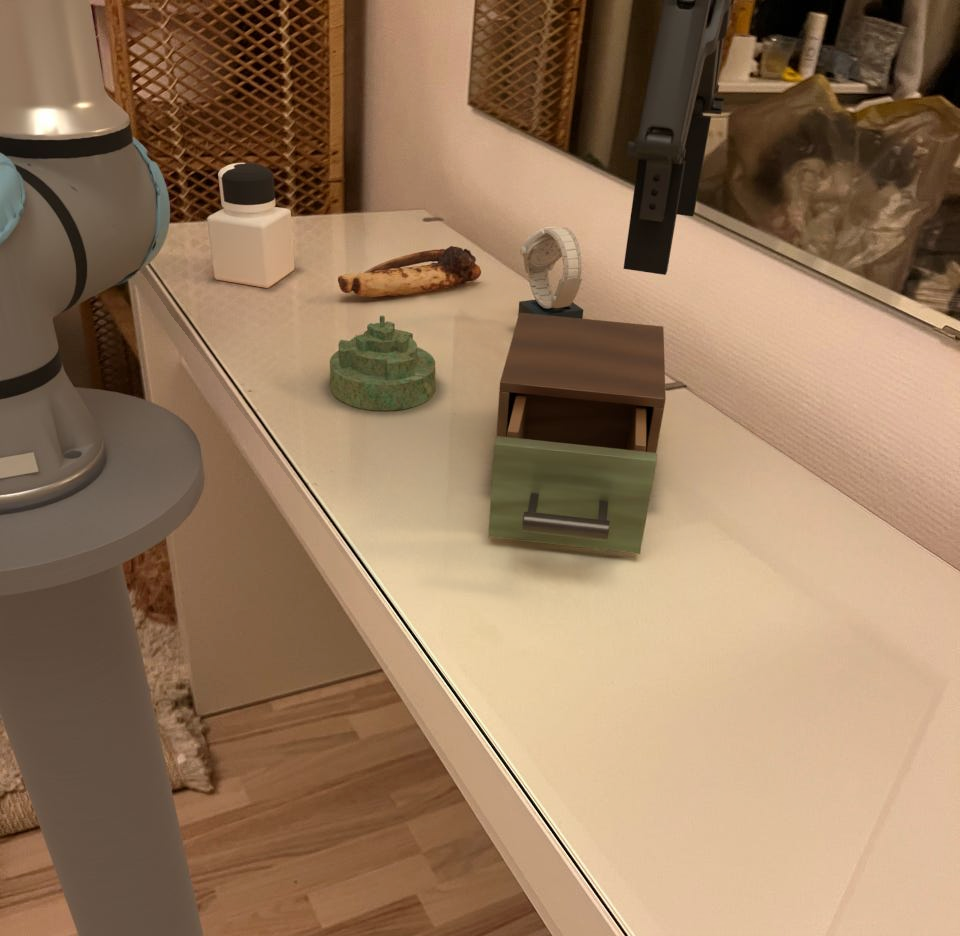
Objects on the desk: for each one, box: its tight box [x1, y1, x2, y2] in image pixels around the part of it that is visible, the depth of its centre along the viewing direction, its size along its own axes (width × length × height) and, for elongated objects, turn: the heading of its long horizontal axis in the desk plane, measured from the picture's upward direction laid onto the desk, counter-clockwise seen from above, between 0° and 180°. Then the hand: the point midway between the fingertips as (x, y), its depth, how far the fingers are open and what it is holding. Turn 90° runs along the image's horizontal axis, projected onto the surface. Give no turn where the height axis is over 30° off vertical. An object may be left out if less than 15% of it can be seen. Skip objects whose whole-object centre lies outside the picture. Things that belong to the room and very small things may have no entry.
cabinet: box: [495, 313, 667, 454], centre depth 83 cm, size 15×13×10 cm
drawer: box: [487, 393, 657, 554], centre depth 75 cm, size 18×11×8 cm, turn 172°
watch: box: [517, 225, 584, 319], centre depth 105 cm, size 6×8×11 cm
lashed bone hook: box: [337, 245, 482, 298], centre depth 115 cm, size 9×5×18 cm
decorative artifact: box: [329, 315, 436, 412], centre depth 93 cm, size 10×7×10 cm
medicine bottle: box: [206, 162, 296, 289], centre depth 114 cm, size 7×7×12 cm
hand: (661, 240), depth 68 cm, fingers open, 13 cm apart
